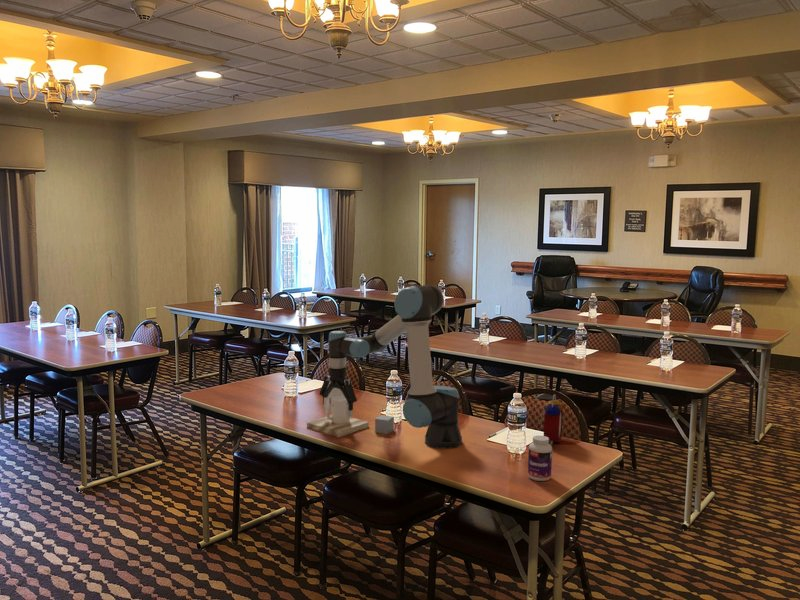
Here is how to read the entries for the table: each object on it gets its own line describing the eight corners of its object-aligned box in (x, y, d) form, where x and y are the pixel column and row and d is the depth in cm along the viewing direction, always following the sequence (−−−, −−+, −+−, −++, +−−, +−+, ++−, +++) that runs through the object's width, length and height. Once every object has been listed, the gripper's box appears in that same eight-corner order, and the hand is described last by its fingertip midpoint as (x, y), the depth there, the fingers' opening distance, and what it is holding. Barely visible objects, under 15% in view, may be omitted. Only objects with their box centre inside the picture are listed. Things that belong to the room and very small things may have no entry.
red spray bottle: (558, 448, 252) (560, 399, 250) (536, 445, 255) (538, 397, 253) (562, 437, 266) (564, 390, 264) (541, 434, 269) (543, 388, 267)
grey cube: (393, 430, 274) (393, 416, 273) (387, 434, 269) (387, 420, 268) (381, 428, 277) (381, 415, 276) (375, 432, 271) (375, 418, 270)
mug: (331, 427, 270) (331, 403, 269) (320, 422, 276) (320, 399, 275) (353, 421, 278) (353, 398, 277) (341, 417, 284) (341, 394, 283)
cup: (336, 401, 319) (336, 381, 318) (319, 397, 326) (319, 378, 325) (347, 397, 326) (347, 378, 325) (330, 394, 333) (330, 375, 332)
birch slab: (368, 428, 278) (368, 422, 278) (339, 439, 264) (339, 432, 264) (336, 419, 291) (336, 413, 291) (306, 429, 277) (306, 422, 277)
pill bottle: (525, 480, 220) (527, 440, 218) (529, 472, 228) (530, 433, 226) (549, 483, 217) (550, 442, 216) (552, 475, 225) (554, 435, 223)
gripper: (364, 369, 270) (364, 417, 272) (323, 361, 285) (323, 407, 287) (352, 372, 264) (353, 422, 266) (311, 364, 279) (311, 411, 282)
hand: (337, 414), depth 277 cm, fingers open, 13 cm apart
